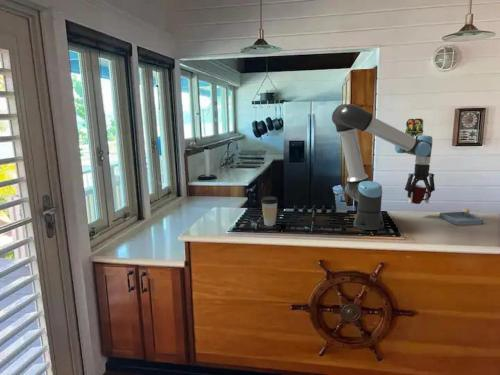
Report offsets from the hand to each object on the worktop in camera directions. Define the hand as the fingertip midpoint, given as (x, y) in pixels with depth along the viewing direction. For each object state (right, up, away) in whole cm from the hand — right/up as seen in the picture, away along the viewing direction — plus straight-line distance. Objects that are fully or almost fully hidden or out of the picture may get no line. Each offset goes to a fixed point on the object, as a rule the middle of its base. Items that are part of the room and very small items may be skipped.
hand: (418, 203), depth 212 cm
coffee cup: (-85, -12, -7) cm, 86 cm away
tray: (+20, -9, -7) cm, 23 cm away
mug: (0, -1, 0) cm, 0 cm away
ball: (+29, -7, +3) cm, 30 cm away
